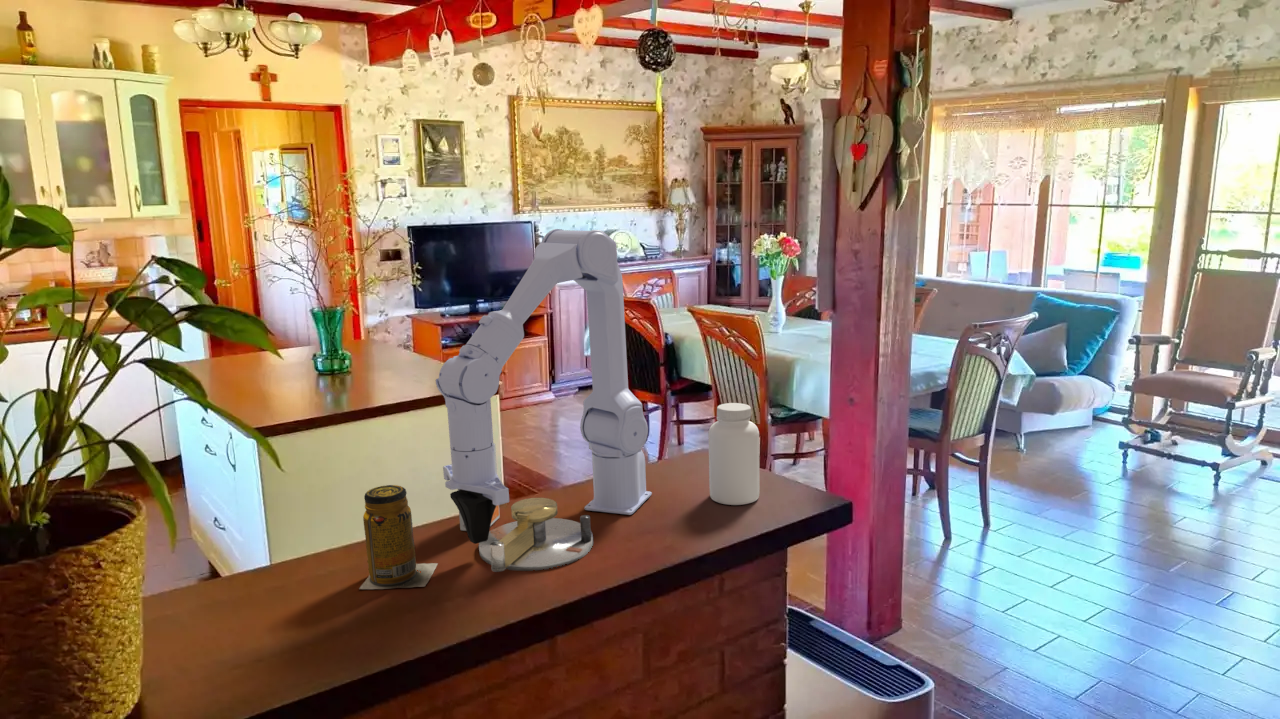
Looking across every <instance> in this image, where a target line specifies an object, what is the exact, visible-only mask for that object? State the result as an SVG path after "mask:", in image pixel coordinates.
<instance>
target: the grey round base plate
mask: <svg viewBox="0 0 1280 719" xmlns="http://www.w3.org/2000/svg"><path fill="white" fill-rule="evenodd" d="M516 527H517V521H516V520H514V521H511V522H508V523H506V524H502V525H498V526H497V527H494V528H493V529H491V530H490V531H489V536H488V540H487V541H483V542H480V543H478V550H479V551H478V552H479V557H480V558H481V560H482V561H484V562H485V563H486V564H488V565H490V566H491V554H490V544H491V543H493V542H498V541H499V540H501V539H502V538H503V537H505V536H506V535H507V534H508V533H510V532H511V531H512V530H514V529H515V528H516ZM593 535H594V533H593V532H592V529H591V516H590V515H589V514H584V515H580V517H579V521H575V520H572V519H567V518H559V517H554V518H552V519H549V520H546V521H542V522H536V523H533V536H534V545H532V546H531V547H530V548H529V549H528V550H527V551H525V552H524V553H523V554H522V555H521V556H519V557H518V558H517V559H516V560H515V561H514V562H512V563H511V564H510V565H509V566H508V567H507V568H506V569H505V570H507V569H508V570H509V571H521V572H526V571H527V572H530V571H531V572H532V571H533V570H535V571H541V570H542V571H543V569H544V570H549V568H551V569H554V568H553V567H556V568H558V567H557V566H560V567H563V566H566V565H565V564H567V565H570V564H572V563H574V562H577V561H579V560H580V559H583V557H585V556H586V555H588V554H589V553H590V551H591V550H592V549H593V547H592V546H594V536H593ZM591 548H592V549H591ZM588 552H589V553H588ZM578 559H579V560H578ZM562 565H563V566H562ZM508 570H507V571H508ZM533 572H534V571H533Z"/></svg>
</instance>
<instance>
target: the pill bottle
mask: <svg viewBox="0 0 1280 719" xmlns="http://www.w3.org/2000/svg"><path fill="white" fill-rule="evenodd" d="M751 416H752V407H751V405H748V404H747V403H740V402H727V403H722V404H719V405H717V407H716V420H717V421H715V422H713V423H711V425H710V427H709V429H708V473H709V474H708V475H709V477H708V478H709V485H708V486H709V496H710V498H711V500H712V501H714V502H716V503H718V504H723V505H728V506H730V505H731V506H741V505H748V504H751V503H754V502H756V501H757V500H758V499H759V497H760V431H759V428H758V426H757V425H756V424H755V423H754V422H752V421H750V420H751Z"/></svg>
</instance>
